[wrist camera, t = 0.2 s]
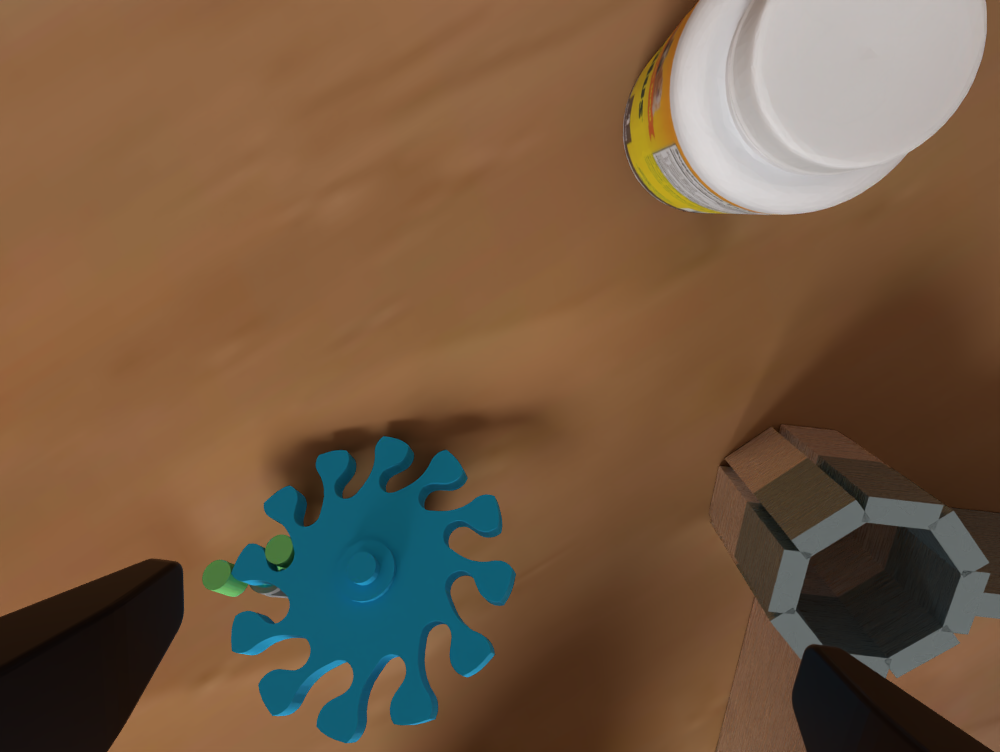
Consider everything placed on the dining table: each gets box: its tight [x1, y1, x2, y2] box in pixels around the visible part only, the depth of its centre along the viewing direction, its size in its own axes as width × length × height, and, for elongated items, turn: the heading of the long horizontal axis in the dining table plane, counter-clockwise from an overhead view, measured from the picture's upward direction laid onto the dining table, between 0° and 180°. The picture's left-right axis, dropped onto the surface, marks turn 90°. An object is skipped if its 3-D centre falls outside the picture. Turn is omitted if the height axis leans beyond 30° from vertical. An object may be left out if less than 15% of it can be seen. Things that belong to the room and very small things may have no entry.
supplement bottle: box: [623, 0, 987, 215], centre depth 15 cm, size 6×6×10 cm
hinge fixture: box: [709, 424, 1000, 752], centre depth 22 cm, size 18×18×6 cm
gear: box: [202, 436, 516, 743], centre depth 23 cm, size 11×6×10 cm
